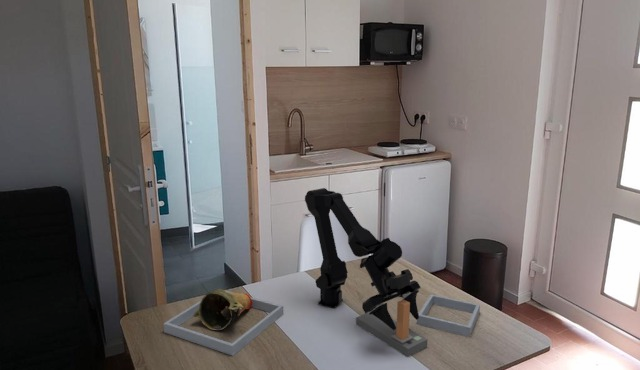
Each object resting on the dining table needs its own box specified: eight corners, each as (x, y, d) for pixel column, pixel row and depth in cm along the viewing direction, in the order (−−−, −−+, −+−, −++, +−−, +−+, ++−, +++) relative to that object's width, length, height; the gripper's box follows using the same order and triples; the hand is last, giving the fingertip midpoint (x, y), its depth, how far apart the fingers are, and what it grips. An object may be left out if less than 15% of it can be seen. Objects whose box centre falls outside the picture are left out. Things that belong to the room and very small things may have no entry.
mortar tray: (164, 332, 142) (163, 323, 141) (220, 296, 164) (219, 289, 164) (232, 355, 130) (232, 346, 129) (283, 314, 152) (283, 305, 152)
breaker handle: (391, 336, 134) (392, 301, 131) (402, 331, 137) (403, 297, 134) (402, 343, 131) (404, 307, 128) (413, 338, 133) (415, 302, 131)
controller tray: (416, 323, 146) (417, 315, 145) (430, 302, 160) (431, 294, 159) (469, 337, 139) (470, 327, 138) (479, 313, 152) (480, 304, 152)
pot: (266, 280, 155) (232, 286, 137) (272, 318, 153) (238, 328, 135) (221, 289, 162) (183, 295, 144) (225, 325, 160) (188, 336, 142)
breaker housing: (356, 324, 146) (356, 316, 145) (374, 316, 151) (375, 309, 150) (407, 357, 129) (408, 348, 129) (427, 346, 134) (427, 338, 133)
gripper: (369, 270, 126) (398, 324, 120) (417, 254, 137) (445, 303, 131) (350, 287, 134) (376, 338, 128) (396, 270, 145) (422, 317, 139)
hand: (406, 324), depth 131 cm, fingers open, 9 cm apart
